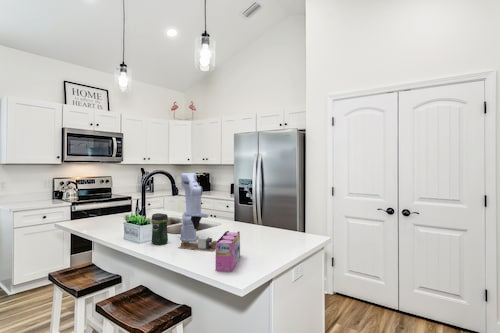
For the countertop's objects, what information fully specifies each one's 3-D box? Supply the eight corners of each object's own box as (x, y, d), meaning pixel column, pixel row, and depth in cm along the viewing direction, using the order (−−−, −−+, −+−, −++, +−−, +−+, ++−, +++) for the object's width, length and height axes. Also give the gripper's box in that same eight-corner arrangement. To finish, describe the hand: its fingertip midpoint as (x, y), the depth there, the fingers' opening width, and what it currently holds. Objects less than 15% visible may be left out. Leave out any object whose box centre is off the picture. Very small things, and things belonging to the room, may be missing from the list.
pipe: (181, 244, 172) (181, 240, 172) (183, 243, 174) (183, 239, 174) (214, 247, 167) (214, 243, 167) (215, 246, 169) (215, 242, 169)
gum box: (226, 254, 158) (226, 230, 158) (240, 255, 157) (241, 230, 157) (215, 271, 134) (215, 242, 134) (231, 272, 133) (231, 243, 133)
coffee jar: (170, 242, 180) (170, 213, 180) (160, 246, 173) (160, 215, 173) (158, 240, 185) (158, 211, 184) (149, 243, 178) (149, 213, 177)
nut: (205, 248, 166) (205, 240, 166) (209, 246, 172) (209, 238, 171) (208, 248, 166) (208, 240, 166) (211, 246, 171) (211, 238, 171)
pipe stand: (178, 248, 169) (178, 241, 169) (185, 244, 177) (185, 237, 177) (213, 251, 163) (213, 243, 163) (218, 246, 172) (218, 239, 172)
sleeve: (197, 248, 168) (197, 238, 168) (201, 245, 173) (201, 236, 173) (205, 248, 166) (205, 238, 166) (209, 246, 171) (209, 236, 171)
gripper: (182, 206, 171) (182, 229, 171) (204, 208, 167) (204, 231, 167) (187, 205, 178) (187, 227, 178) (209, 206, 174) (209, 228, 174)
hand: (196, 229), depth 173 cm, fingers closed
